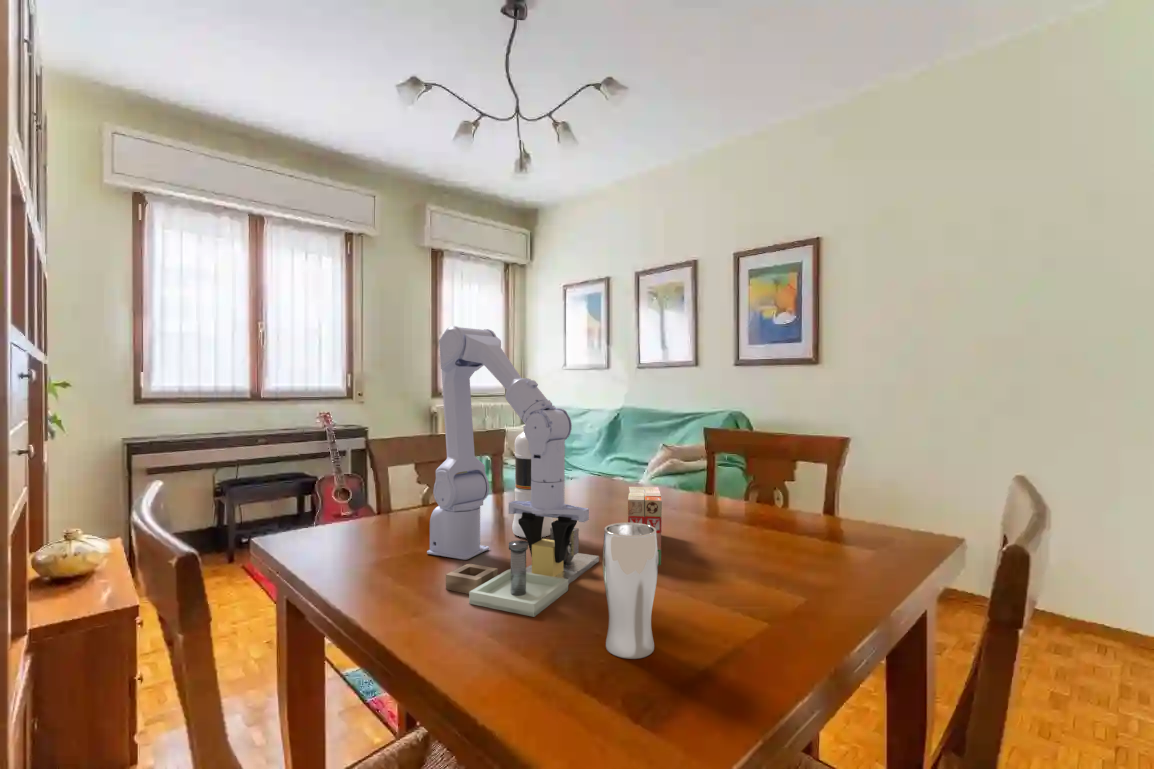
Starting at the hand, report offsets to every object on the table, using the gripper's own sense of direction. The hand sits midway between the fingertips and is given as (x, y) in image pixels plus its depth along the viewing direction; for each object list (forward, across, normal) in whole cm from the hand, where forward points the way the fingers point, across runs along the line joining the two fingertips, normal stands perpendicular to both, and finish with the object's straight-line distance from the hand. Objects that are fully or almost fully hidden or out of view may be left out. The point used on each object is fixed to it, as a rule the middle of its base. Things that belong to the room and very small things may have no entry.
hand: (547, 559), depth 95 cm
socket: (+3, -10, -8) cm, 13 cm away
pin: (+3, 0, -9) cm, 10 cm away
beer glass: (+3, +21, -18) cm, 28 cm away
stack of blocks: (+4, +9, +24) cm, 26 cm away
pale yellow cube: (+2, 0, 0) cm, 2 cm away
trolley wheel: (+3, 0, +4) cm, 6 cm away
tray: (+3, 0, -9) cm, 10 cm away
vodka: (+3, -16, +24) cm, 29 cm away
